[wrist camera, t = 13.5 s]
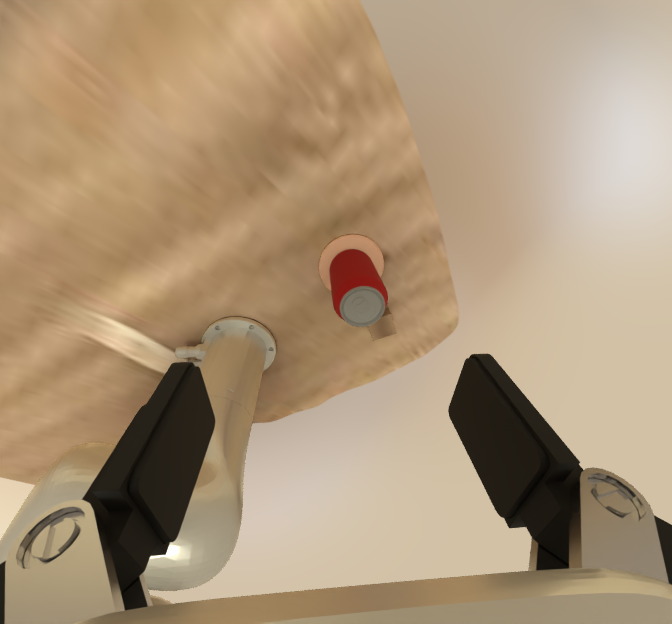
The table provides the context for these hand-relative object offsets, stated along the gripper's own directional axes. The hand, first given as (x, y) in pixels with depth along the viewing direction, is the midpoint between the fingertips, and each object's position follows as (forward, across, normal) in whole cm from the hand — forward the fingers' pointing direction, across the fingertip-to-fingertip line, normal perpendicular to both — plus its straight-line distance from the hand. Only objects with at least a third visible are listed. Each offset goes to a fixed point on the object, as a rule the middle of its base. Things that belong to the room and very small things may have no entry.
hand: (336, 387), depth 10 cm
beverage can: (+33, -5, +9) cm, 34 cm away
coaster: (+33, -5, +9) cm, 35 cm away
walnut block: (+33, -10, +18) cm, 39 cm away
